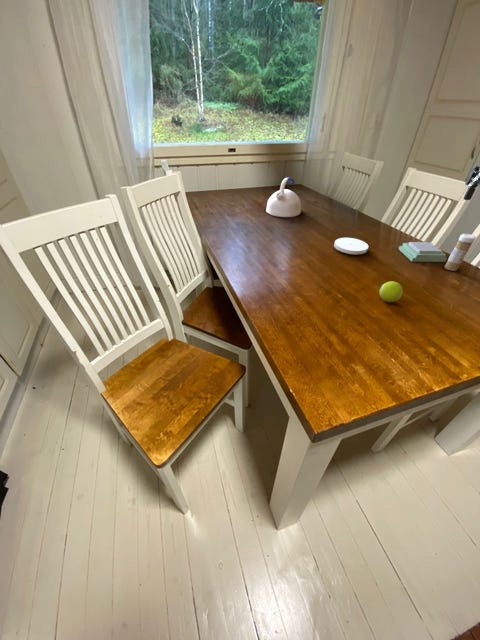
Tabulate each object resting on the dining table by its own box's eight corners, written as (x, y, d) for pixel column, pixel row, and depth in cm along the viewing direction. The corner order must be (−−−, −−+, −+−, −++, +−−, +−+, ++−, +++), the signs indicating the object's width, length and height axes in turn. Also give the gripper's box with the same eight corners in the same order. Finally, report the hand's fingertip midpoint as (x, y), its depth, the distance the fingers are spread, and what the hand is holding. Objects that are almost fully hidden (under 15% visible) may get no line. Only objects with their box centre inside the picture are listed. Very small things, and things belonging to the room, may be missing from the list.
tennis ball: (378, 292, 93) (385, 275, 89) (399, 298, 91) (407, 281, 86) (374, 302, 89) (381, 284, 84) (397, 308, 86) (405, 290, 82)
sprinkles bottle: (452, 265, 109) (470, 233, 101) (459, 271, 106) (479, 238, 97) (441, 265, 109) (458, 233, 100) (448, 271, 105) (467, 238, 97)
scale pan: (428, 245, 118) (429, 242, 117) (440, 254, 111) (442, 251, 110) (407, 245, 118) (409, 241, 117) (418, 254, 111) (420, 250, 110)
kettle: (259, 213, 156) (261, 178, 145) (275, 204, 170) (278, 172, 159) (292, 220, 148) (297, 183, 137) (306, 210, 162) (311, 176, 151)
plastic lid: (373, 252, 118) (375, 246, 116) (351, 259, 112) (353, 253, 111) (348, 240, 127) (350, 235, 126) (326, 246, 122) (328, 241, 120)
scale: (429, 249, 121) (432, 243, 119) (445, 262, 112) (449, 255, 110) (398, 249, 121) (400, 242, 119) (411, 261, 112) (414, 254, 110)
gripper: (534, 152, 79) (500, 209, 89) (498, 145, 90) (471, 197, 100) (508, 152, 79) (477, 209, 89) (475, 145, 90) (451, 197, 100)
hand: (474, 203), depth 95 cm, fingers open, 8 cm apart
